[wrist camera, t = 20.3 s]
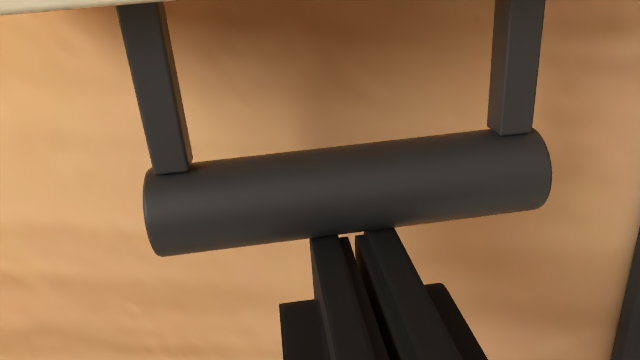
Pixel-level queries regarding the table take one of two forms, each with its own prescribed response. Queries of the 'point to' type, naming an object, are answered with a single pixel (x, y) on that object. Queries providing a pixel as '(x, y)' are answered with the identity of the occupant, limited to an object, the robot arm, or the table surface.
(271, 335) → the table surface
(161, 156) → the drawer
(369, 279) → the robot arm
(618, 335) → the mat
